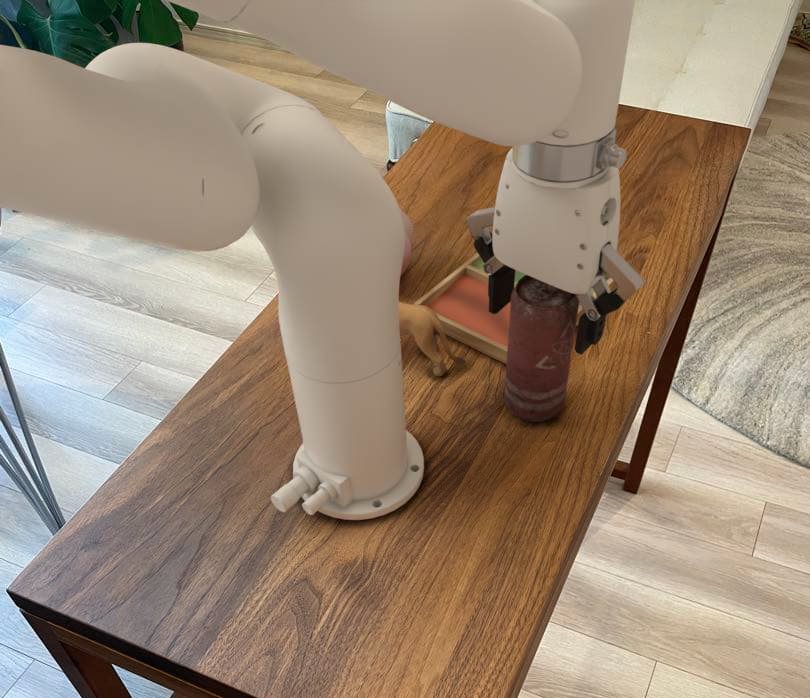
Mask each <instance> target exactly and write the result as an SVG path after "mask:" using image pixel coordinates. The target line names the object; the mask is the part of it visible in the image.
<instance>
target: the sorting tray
mask: <svg viewBox="0 0 810 698" xmlns="http://www.w3.org/2000/svg"><path fill="white" fill-rule="evenodd" d="M484 264H485V263H484V262H483V260H482V259H481V257H480V256H479V254H478V252H476V253H475V254H474V255H473V256H471V257H470V258H469V259H467V261H465V262H464V263H463V264H461V265H460V266H459V267H458V268H456V269H455V270H454V271H453V272H452V273H450V274H449V275H448V276H447V277H445V278H444V279H442V280H441V281H440V282H439V283H437V284H436V285H435V286H434V287H432V288H431V289H430V290H429V291H427V293H425V294H424V295H422V296H421V297H420V298H419V299H418V300H416V301H415V302H414V303H413V304H412V305H423V306H427V307H428V308H430V309H431V310H432V311H434V312H435V313H436V314H437V316H438V318H439V322H440V323H441V325H442V328H443V330H444V332H445V335H446V336H447V337H449V338H452V339H454V340H456V341H458V342H459V343H462V344H463V345H466V346H467V347H470V348H472V349H474V350H476V351H478V352H480V353H482V354H485V355H486V356H488V357H490V358H492V359H494V360H497V361H498V362H500V363H503V364H505V365H506V362H507V348H508V333H509V319H510V305H511V302H509V303H508V304H507V305H506V306H505V307H504V308H502V309H501V310H500V311H499V312H498V313H497V314H496V313H495V314H492V313H490V312H489V297H488V282H489V275H487V274H486V273H485V272H484V270H483V265H484ZM603 275H604V277H605V279H606V281H607V283H608V285H609V288H610V290H611V292H612V291H614V290H616V289H618V286H617V284H616V282H615V281H614V280H613V279H612V278H611V277H610V276H609V275H607V274H605V273H603ZM517 283H518V281H517V280H515V283H514V288H515V286H516V284H517ZM590 290H591V292H592V294H593V296H594V298H595V300H596V299H597V298H598V297H597V295H596V293H595V291H594V289H593V287H592V288H591V289H590ZM584 313H585V312H584V310H583V308H582V306H581V304H580V302H579V307H578V314H577V321H576V327H578V323H579V318H580V317H581V316H582V315H583V314H584Z"/></svg>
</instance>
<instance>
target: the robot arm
mask: <svg viewBox="0 0 810 698" xmlns="http://www.w3.org/2000/svg"><path fill="white" fill-rule="evenodd" d="M166 1H167V2H169V3H172V4H175V5H177V6H180V7H182V8H184V9H187V10H190V11H193V12H195V13H198V14H200V15H203V16H205V17H208V18H211V19H213V20H216V21H218V22H221V23H224V24H226V25H229V26H230V27H234V28H235V29H239V30H241V31H243V32H245V33H248V34H251V35H254V36H256V37H258V38H260V39H263V40H266V41H267V42H270V43H272V44H274V45H277V46H278V47H280V48H282V49H284V50H286V51H287V52H289V53H291V54H293V55H294V56H296V57H298V58H300V59H302V60H303V61H305V62H307V63H309V64H311V65H313V66H315V67H317V68H319V69H321V70H324V71H326V72H329V73H330V74H333V75H335V76H337V77H340V78H342V79H343V80H347V81H348V82H351V83H353V84H355V85H357V86H359V87H361V88H363V89H364V90H368V91H370V92H371V93H373V94H375V95H377V96H379V97H381V98H383V99H385V100H387V101H389V102H391V103H394V104H395V105H398V106H399V107H401V108H404V109H406V110H408V111H410V112H412V113H414V114H416V115H419V116H420V117H423V118H425V119H427V120H429V121H432V122H434V123H437V124H439V125H442V126H444V127H447V128H450V129H452V130H455V131H458V132H460V133H463V134H465V135H468V136H471V137H474V138H476V139H479V140H483V141H486V142H488V143H491V144H494V145H498V146H502V147H503V146H504V147H511V148H510V150H509V151H508V152H507V154H506V157H505V159H504V163H503V166H502V170H501V174H500V178H499V181H498V187H497V192H496V197H495V198H496V199H495V206H492V207H488V208H483V209H477V210H475V211H474V212H472V213H471V214H470V215H468V216H467V218H466V219H465V221H466V224H467V228H468V230H469V232H470V235H471V237H472V239H473V240H474V241H473V248H474V249H475V251H476V253H478V254H479V256H480V257H481V259H482V260H483V262H484V263H485V264H484V265H483V270H484V272H485V273H486V274H487V275H489V282H488V297H489V312H490V313H492V314H495V313H496V314H497V313H498V312H499V311H500V310H501V309H502V308H504V307H505V306H506V305H507V304H508V303H509V302H511V293H512V291H513V290H514V283H515V270H517V271H519V272H522V273H524V274H526V275H528V276H531V277H533V278H535V279H538V280H540V281H542V282H545V283H547V284H549V285H552V286H554V287H557V288H559V289H562V290H564V291H567V292H570V293H573V294H576V296H577V298H578V300H579V302H580V304H581V306H582V308H583V310H584V312H585V313H584V314H583V315H582V316H581V317H580V318H579V323H578V325H577V330H576V336H575V344H574V351H575V353H577V354H579V355H580V356H582V355H583V354H584V353H585V352H586V351H587V350H588V349H589V348H590V347H592V345H593V346H596V345H598V343H599V342H600V341H601V339H602V337H603V335H604V330H605V326H606V320H607V315H608V314H610V313H613V312H615V311H617V310H619V309H620V308H621V307H622V306H623V305H624V304H625V303H626V302H627V301H628V300H629V299H630V298H631V297H633V295H634V294H636V292H638V290H639V289H641V288H642V286H644V279H643V277H642V276H641V274H639V272H637V271H636V270H635V269H634V268H633V266H632V265H630V263H628V262H627V260H626V259H625V258H624V257H623V256H622V255H621V254H620V253H619V252H618V244H619V236H620V235H619V234H620V222H621V199H622V198H621V179H620V169H621V168H622V167H623V165H624V164H625V162H626V160H627V157H628V156H627V155H628V151H627V149H625V148H622V147H620V146H619V145H618V144H616V137H617V131H618V130H617V129H616V123H617V118H618V117H617V116H618V110H619V104H620V97H621V91H622V84H623V78H624V73H625V64H626V60H627V52H628V47H629V39H630V33H631V26H632V21H633V14H634V6H635V0H166ZM0 209H6V210H9V211H10V210H11V211H15V212H19V213H23V214H28V215H32V216H37V217H41V218H43V219H48V220H52V221H56V222H58V223H62V224H66V225H69V226H70V225H71V226H75V227H79V228H83V229H87V230H92V231H96V232H101V233H105V234H109V235H113V236H117V237H122V238H126V239H130V240H135V241H138V242H143V243H146V244H151V245H154V246H159V247H163V248H167V249H172V250H179V251H185V252H193V253H195V252H196V253H197V252H198V253H199V252H213V251H217V250H220V249H224V248H226V247H228V246H230V245H232V244H233V243H235V242H237V241H240V239H242V238H243V237H244V236H245V234H246V233H247V232H248V231H249V230H250V228H251V230H252V233H254V236H256V238H257V240H258V241H259V242H260V244H261V245H262V247H263V249H264V251H265V252H266V254H267V256H268V258H269V260H270V262H271V264H272V267H273V270H274V273H275V278H276V282H277V287H278V288H277V289H278V299H277V300H278V301H277V312H278V313H277V315H278V322H279V329H280V336H281V341H282V347H283V351H284V355H285V359H286V364H287V369H288V373H289V379H290V382H291V388H292V389H291V390H292V393H293V394H292V395H293V398H294V403H295V409H296V414H297V418H298V423H299V428H300V433H301V438H302V444H301V445H300V446H299V447H298V449H297V452H296V454H295V456H294V459H293V464H292V479H291V480H290V481H289V482H287V483H286V484H283V485H282V486H281V487H280V488H279V489H278V490H277V491H275V492H274V493H273V494H272V495H271V496H270V501H271V503H272V505H273V506H274V507H275V508H276V509H277V510H278V511H280V512H281V513H286V512H287V511H289V510H290V509H291V508H292V507H293V506H294V505H295V504H297V503H298V501H300V499H301V498H302V499H303V501H304V502H302V503H301V507H302V509H303V511H304V512H305V513H306V514H307V515H309V516H314V515H315V514H316V513H317V512H318V513H321V514H322V515H326V516H328V517H331V518H335V519H340V520H347V521H361V520H369V519H370V520H371V519H375V518H378V517H383V516H385V515H387V514H390V513H392V512H394V511H396V510H397V509H399V508H400V507H402V506H403V505H405V504H406V503H408V501H409V500H410V499H411V498H413V496H414V495H415V494H416V492H417V491H418V489H420V485H421V484H422V482H423V478H424V472H425V457H424V453H423V449H422V447H421V446H420V444H419V443H420V442H419V441H418V440H417V439H416V437H414V435H413V434H412V433H411V432H410V431H408V430H407V427H406V425H407V424H406V411H405V409H406V407H405V392H404V391H405V390H404V376H403V359H402V357H403V356H402V345H401V343H402V342H401V335H400V328H399V301H400V299H399V297H400V296H399V295H400V282H401V276H402V275H401V269H402V263H403V256H404V249H405V229H404V222H403V217H402V214H401V211H400V210H401V208H400V206H399V203H398V201H397V199H396V197H395V195H394V193H393V191H392V190H391V188H390V186H389V184H388V183H387V182H386V180H385V179H384V177H383V176H382V175H381V173H380V172H379V171H378V170H377V169H376V168H375V167H374V165H373V164H371V162H369V160H368V159H367V158H366V157H365V156H364V155H363V153H362V152H360V151H359V149H358V148H356V146H355V145H354V144H353V143H352V142H351V141H350V140H349V139H347V137H346V136H344V134H343V133H342V132H341V131H340V130H339V129H338V127H336V126H335V124H333V122H332V121H331V120H330V119H329V118H328V117H327V116H326V115H324V114H323V112H321V111H320V110H319V109H318V108H317V107H315V106H314V105H313V104H311V103H310V102H308V101H306V100H305V99H303V98H301V97H299V96H297V95H295V94H293V93H291V92H289V91H285V90H283V89H281V88H279V87H276V86H273V85H270V84H268V83H265V82H263V81H260V80H258V79H255V78H252V77H250V76H247V75H245V74H242V73H240V72H237V71H235V70H232V69H229V68H227V67H224V66H221V65H218V64H215V63H214V62H211V61H208V60H206V59H204V58H200V57H197V56H196V55H192V54H191V53H188V52H185V51H182V50H179V49H176V48H173V47H170V46H166V45H162V44H155V43H150V42H130V43H124V44H119V45H116V46H113V47H111V48H109V49H108V48H107V49H106V50H105V51H103V52H101V53H99V54H98V55H96V56H95V58H93V59H92V60H91V61H90V62H89V63H88V64H87V65H86V67H83V66H79V65H77V64H75V63H73V62H69V61H67V60H65V59H63V58H60V57H57V56H55V55H51V54H47V53H45V52H40V51H37V50H32V49H27V48H24V47H18V46H17V47H16V46H10V45H5V44H0ZM490 227H492V232H491V229H490ZM603 273H605V274H607V275H609V276H610V277H611V278H612V279H613V280H614V281H615V282H616V284H617V286H618V287H617V288H616V289H615V290H614V291H612V292H611V290H610V288H609V285H608V283H607V281H606V279H605V277H604V275H603ZM400 275H401V276H400ZM592 287H593V289H594V291H595V293H596V295H597V297H598V298H597V299H596V300H595V298H594V296H593V294H592V292H591V290H590V289H591V288H592Z"/></svg>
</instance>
